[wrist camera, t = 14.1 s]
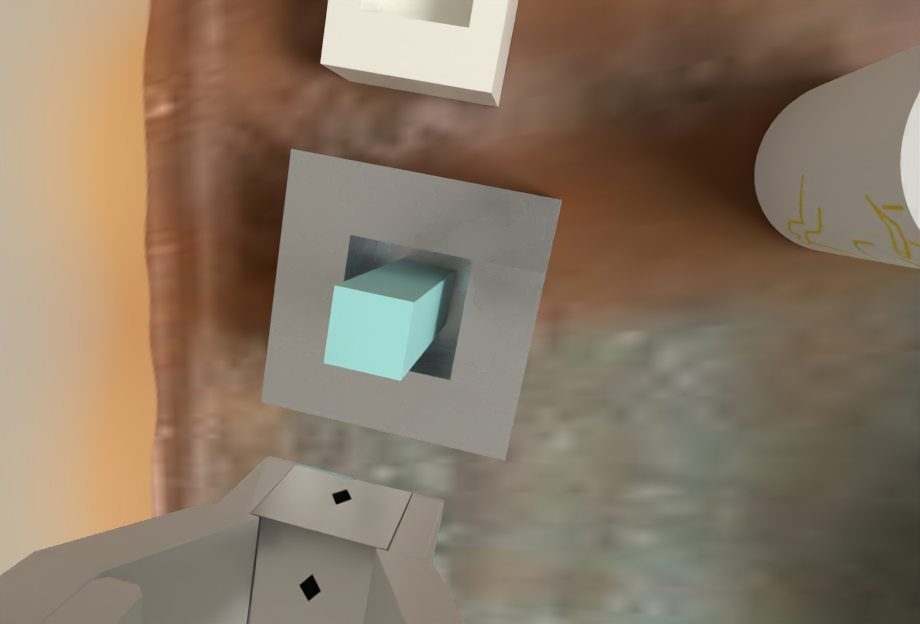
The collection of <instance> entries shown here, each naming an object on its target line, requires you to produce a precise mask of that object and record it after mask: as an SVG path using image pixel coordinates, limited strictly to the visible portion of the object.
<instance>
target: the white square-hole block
mask: <svg viewBox="0 0 920 624" xmlns="http://www.w3.org/2000/svg"><path fill="white" fill-rule="evenodd" d="M518 1H519V0H328V7H327V15H326V23H325V31H324V39H323V47H322V55H321V63H320V64H322V65H324V66H325V67H327V68H328V69H330V70H332V71H333V72H335V73H337V74H338V75H340V76H341V77H343V78H345V79H346V80H348V81H351V82H356V83H362V84H368V85H373V86H379V87H385V88H391V89H396V90H402V91H408V92H414V93H419V94H425V95H431V96H437V97H442V98H448V99H454V100H460V101H465V102H471V103H477V104H482V105H488V106H494V107H498V106H499V101H500V96H501V90H502V85H503V80H504V75H505V69H506V64H507V59H508V54H509V48H510V43H511V38H512V33H513V27H514V22H515V17H516V11H517V6H518Z"/></svg>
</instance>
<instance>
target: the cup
mask: <svg viewBox="0 0 920 624" xmlns="http://www.w3.org/2000/svg"><path fill="white" fill-rule="evenodd" d="M754 180H755V189H756V194H757V198H758V201H759V204H760V206H761V208H762V210H763V212H764V214H765V216H766V217H767V219H768V220H769V222H770V223H771V224H772V225H773V226H774V227H775V228H776V230H778V231H779V232H780V233H781V234H782V235H783V236H785V237H786V238H788V239H789V240H791V241H793V242H794V243H796V244H798V245H801V246H803V247H806V248H809V249H813V250H817V251H823V252H828V253H834V254H839V255H845V256H850V257H856V258H861V259H867V260H873V261H878V262H884V263H889V264H895V265H900V266H906V267H912V268H917V269H920V44H918V45H916V46H913V47H911V48H908V49H906V50H904V51H901V52H899V53H897V54H894V55H892V56H889V57H887V58H885V59H882V60H880V61H878V62H875V63H873V64H870V65H868V66H866V67H863V68H861V69H858V70H856V71H854V72H851V73H849V74H847V75H844V76H842V77H839V78H837V79H835V80H832V81H830V82H828V83H825V84H823V85H820V86H818V87H816V88H814V89H812V90H810V91H808V92H806V93H804V94H803V95H801V96H800V97H798V98H797V99H795V100H794V101H793V102H791V103H790V104H789V105H788V106H787V107H786V108H785V109H784V110H783V111H782V112H781V113H780V114H779V115H778V116H777V117H776V119H775V120H774V121H773V123H772V124H771V125H770V127H769V129H768V130H767V132H766V134H765V136H764V138H763V140H762V142H761V144H760V147H759V150H758V153H757V157H756V163H755V171H754Z"/></svg>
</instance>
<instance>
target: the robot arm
mask: <svg viewBox="0 0 920 624" xmlns="http://www.w3.org/2000/svg"><path fill="white" fill-rule="evenodd" d="M443 507H444V501H443V499H439V498H434V497H429V496H425V495H420V494H415V493H414V494H413V493H411V492H407V491H402V490H398V489H394V488H389V487H385V486H381V485H376V484H372V483H367V482H363V481H359V480H356V479H354V478H350V477H347V476H343V475H339V474H336V473H332V472H329V471H325V470H321V469H318V468H314V467H311V466H307V465H303V464H298V463H297V462H294V461H289V460H285V459H281V458H277V457H266V458H265V459H264V460H263V461H262V462H260V463H259V464H258V465H257V466H256V467H255V468H254V469H253V470H252V471H251V472H250V473H249V474H248V475H247V476H246V477H245V478H244V479H243V480H242V481H241V482H240V483H238V484H237V485H236V486H235V487H234V488H233V489H232V490H231V491H230V492H229V493H228V494H227V495H226V496H225V497H224V498H223V499H222V500H221V501H220V502H219V503H218V504H216V505H214V504H210V503H204V504H201V505H197V506H194V507H190V508H187V509H183V510H180V511H176V512H173V513H169V514H166V515H162V516H159V517H155V518H151V519H148V520H144V521H141V522H137V523H134V524H130V525H127V526H123V527H120V528H116V529H113V530H109V531H106V532H103V533H99V534H95V535H92V536H88V537H85V538H81V539H78V540H74V541H71V542H67V543H64V544H60V545H57V546H53V547H49V548H46V549H42V550H39V551H35V552H33V553H32V554H30V555H29V556H28V557H26V558H25V559H23V560H22V561H21V562H19V563H18V564H16V565H15V566H14V567H12V568H11V569H9V570H8V571H6V572H5V573H3V574H2V575H1V576H0V624H465V622H464V620H463V618H462V616H461V614H460V612H459V611H458V609H457V607H456V605H455V603H454V601H453V599H452V597H451V596H450V594H449V592H448V590H447V588H446V586H445V584H444V582H443V581H442V579H441V577H440V575H439V573H438V571H437V569H436V567H435V565H434V564H433V563H432V561H433V557H434V552H435V547H436V542H437V537H438V533H439V528H440V523H441V518H442V513H443Z"/></svg>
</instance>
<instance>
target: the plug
mask: <svg viewBox="0 0 920 624" xmlns="http://www.w3.org/2000/svg"><path fill="white" fill-rule="evenodd" d="M455 273H456V270H453V269H449V268H444V267H439V266H434V265H429V264H424V263H419V262H415V261H410V260H405V259H399V260H397V261H394V262H392V263H389V264H387V265H384V266H382V267H379V268H377V269H374V270H372V271H369V272H367V273H364V274H362V275H359V276H357V277H354V278H352V279H349V280H347V281H344V282H342V283H339V284H337V285H335V286H334V293H333V300H332V307H331V314H330V321H329V328H328V335H327V342H326V349H325V356H324V363H325V364H330V365H334V366H338V367H343V368H347V369H351V370H356V371H360V372H365V373H369V374H373V375H378V376H382V377H386V378H391V379H395V380H399V381H401V380H402V379H403V377H404V376H405V375H406V374H407V372H408V371H409V370H410V369H411V367H412V366H413V365H414V364H415V362H416V361H417V360H418V359H419V357H420V356H421V355H422V354H423V352H424V351H425V350H426V349H427V347H428V346H429V345H430V344H431V342H432V341H433V340H434V339H435V337H436V336H437V335H438V334H439V332H440V331H441V330H442V329H443V327H444V326H445V325H446V321H447V316H448V311H449V305H450V300H451V294H452V289H453V284H454V278H455Z"/></svg>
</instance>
